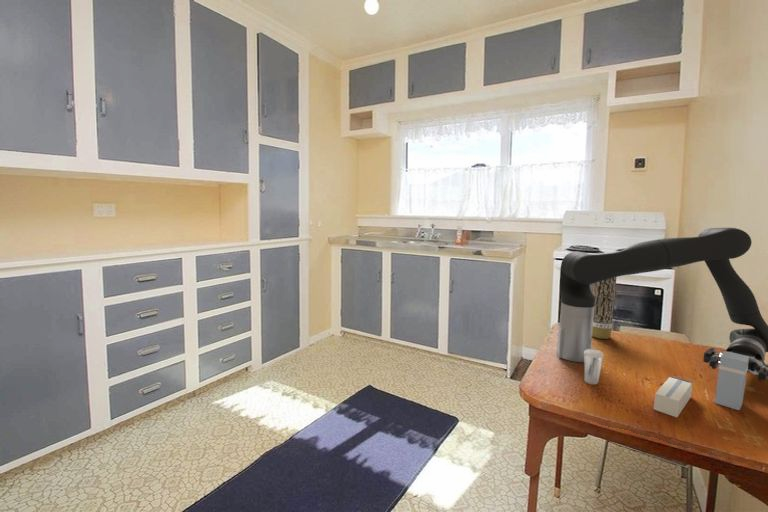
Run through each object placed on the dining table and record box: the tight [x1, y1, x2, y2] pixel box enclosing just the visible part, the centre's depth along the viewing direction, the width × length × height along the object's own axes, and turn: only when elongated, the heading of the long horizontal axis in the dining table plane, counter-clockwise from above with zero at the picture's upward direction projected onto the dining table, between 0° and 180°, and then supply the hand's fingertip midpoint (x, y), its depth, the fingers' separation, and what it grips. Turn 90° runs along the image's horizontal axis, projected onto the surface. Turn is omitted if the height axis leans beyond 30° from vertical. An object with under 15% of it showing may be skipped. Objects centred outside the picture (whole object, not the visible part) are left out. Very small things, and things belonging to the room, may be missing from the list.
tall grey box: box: [714, 350, 749, 411], centre depth 91 cm, size 5×5×12 cm
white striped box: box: [653, 375, 693, 418], centre depth 92 cm, size 15×4×4 cm, turn 131°
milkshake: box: [583, 342, 604, 385], centre depth 102 cm, size 4×5×10 cm
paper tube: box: [592, 277, 617, 340], centre depth 136 cm, size 7×7×25 cm
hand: (736, 370), depth 94 cm, fingers open, 8 cm apart
